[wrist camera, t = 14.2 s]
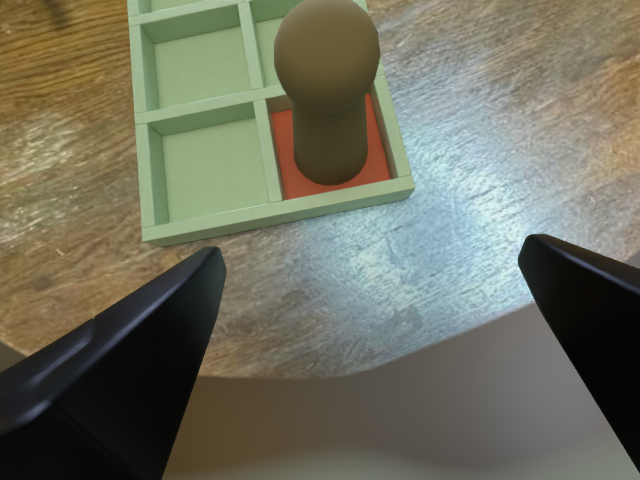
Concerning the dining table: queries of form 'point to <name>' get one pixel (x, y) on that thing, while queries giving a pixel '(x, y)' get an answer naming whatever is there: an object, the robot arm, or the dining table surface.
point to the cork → (328, 85)
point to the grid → (235, 125)
